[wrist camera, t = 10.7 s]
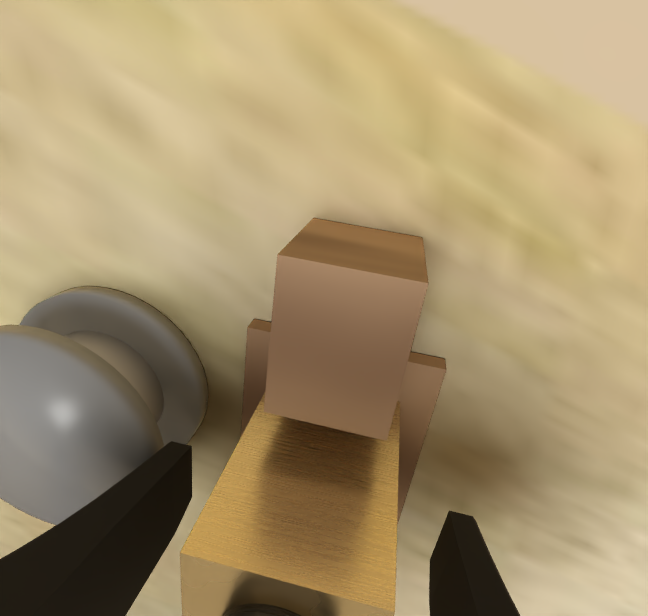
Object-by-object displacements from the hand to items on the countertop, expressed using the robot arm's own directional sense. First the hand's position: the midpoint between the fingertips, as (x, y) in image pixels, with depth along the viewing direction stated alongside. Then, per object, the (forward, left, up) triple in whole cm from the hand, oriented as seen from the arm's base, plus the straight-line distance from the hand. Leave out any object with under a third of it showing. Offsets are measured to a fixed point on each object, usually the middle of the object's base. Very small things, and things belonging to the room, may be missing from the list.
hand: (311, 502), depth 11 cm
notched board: (0, 0, -3) cm, 3 cm away
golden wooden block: (0, 0, -3) cm, 3 cm away
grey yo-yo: (0, +8, -3) cm, 9 cm away
